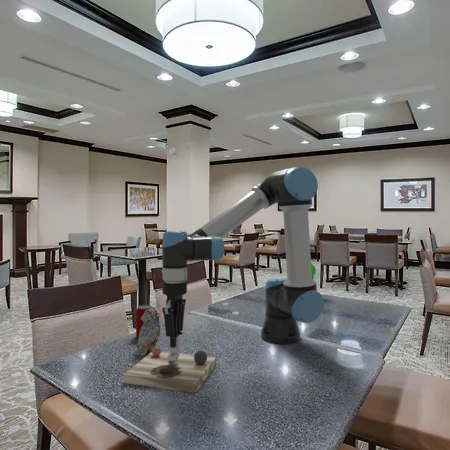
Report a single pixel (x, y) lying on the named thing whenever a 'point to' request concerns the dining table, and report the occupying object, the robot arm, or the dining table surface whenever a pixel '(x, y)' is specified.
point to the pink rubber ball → (156, 351)
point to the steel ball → (172, 359)
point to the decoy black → (200, 357)
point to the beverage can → (139, 314)
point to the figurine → (148, 332)
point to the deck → (170, 372)
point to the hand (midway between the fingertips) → (174, 356)
